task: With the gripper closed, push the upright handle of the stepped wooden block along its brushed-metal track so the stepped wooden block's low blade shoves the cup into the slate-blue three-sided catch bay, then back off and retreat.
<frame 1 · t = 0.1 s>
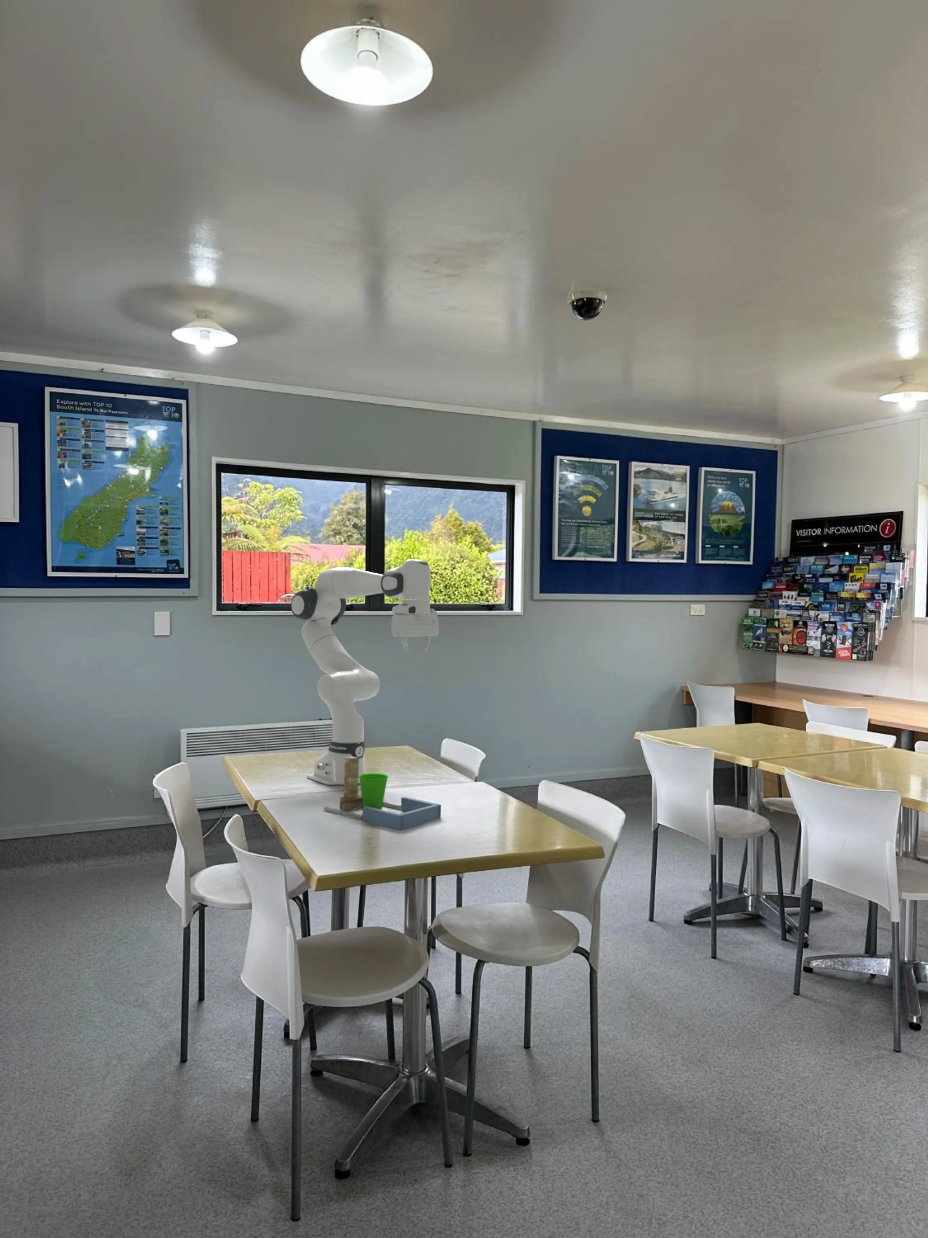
hand: (415, 650, 276), 48 cm above the table, fingers open, 8 cm apart
bay: (402, 819, 246), on the table
track: (363, 810, 255), on the table
cup: (372, 813, 253), on the table
stepped wooden block: (353, 782, 258), point 8 cm above the table, slide at 0.0 cm
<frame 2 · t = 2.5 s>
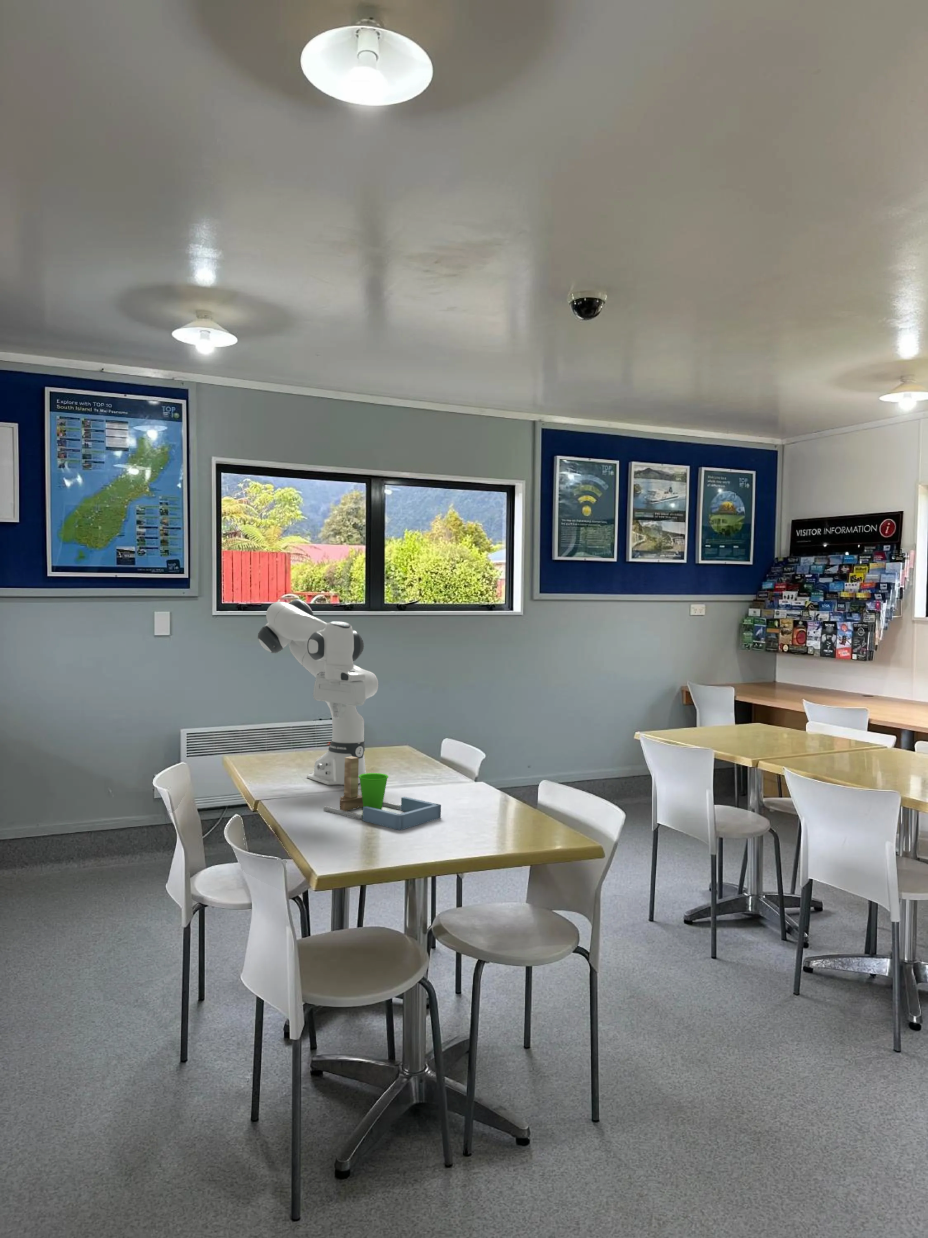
hand: (338, 717, 262), 27 cm above the table, fingers closed
nothing on the table moved.
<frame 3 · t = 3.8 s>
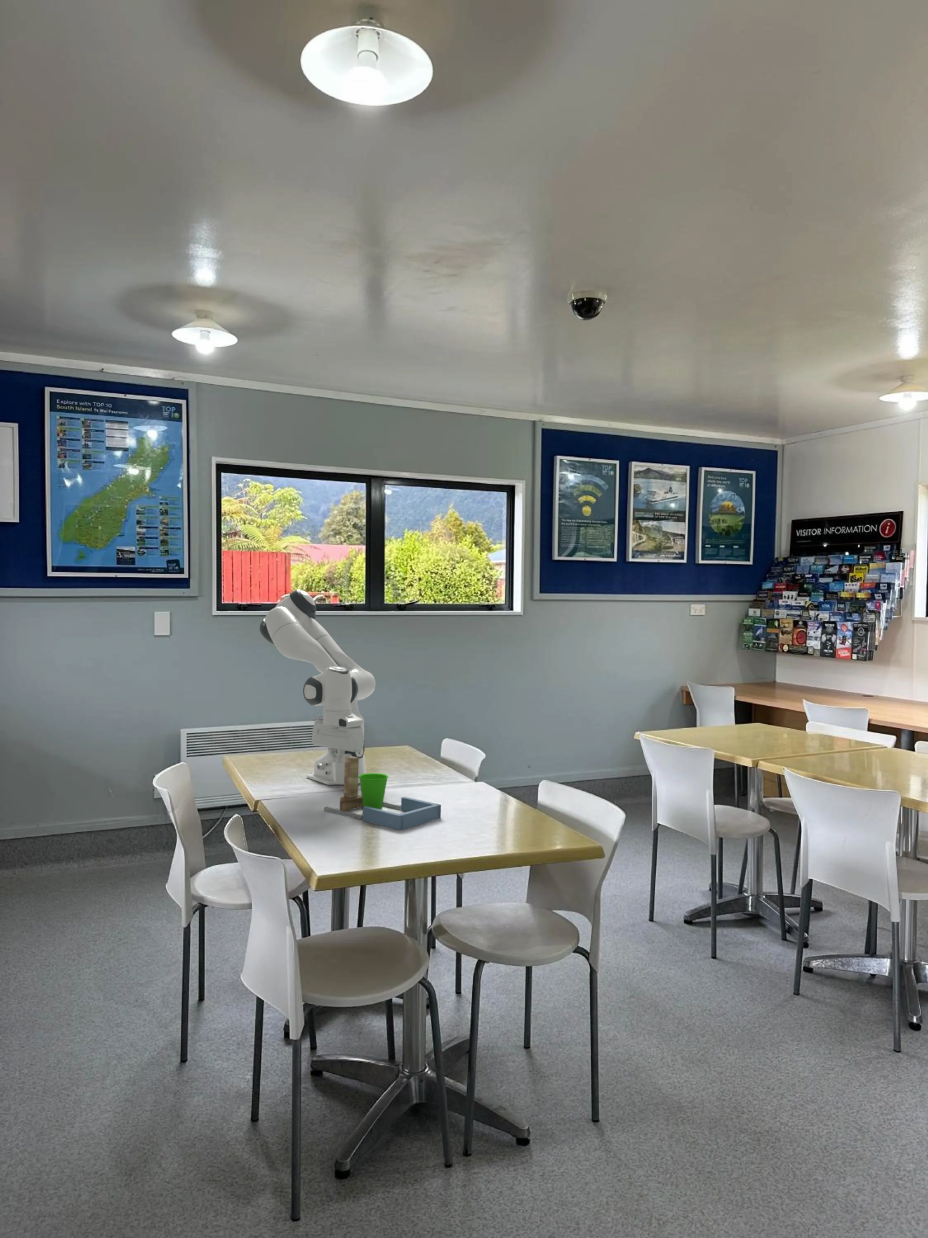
hand: (336, 762, 262), 13 cm above the table, fingers closed
nothing on the table moved.
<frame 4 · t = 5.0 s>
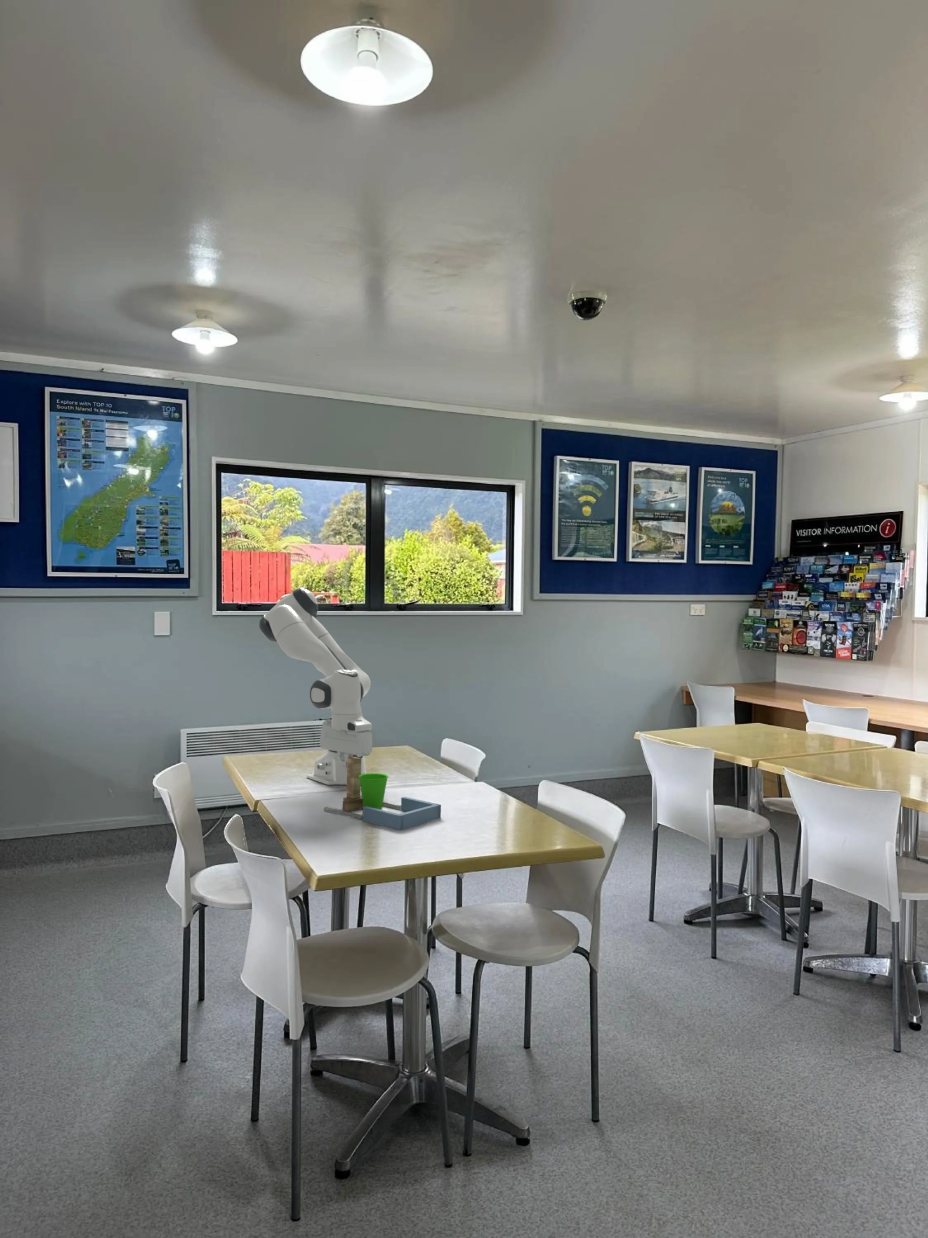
hand: (344, 766, 260), 12 cm above the table, fingers closed
stepped wooden block: (356, 782, 257), point 8 cm above the table, slide at 1.2 cm, touching gripper
everything else where it was.
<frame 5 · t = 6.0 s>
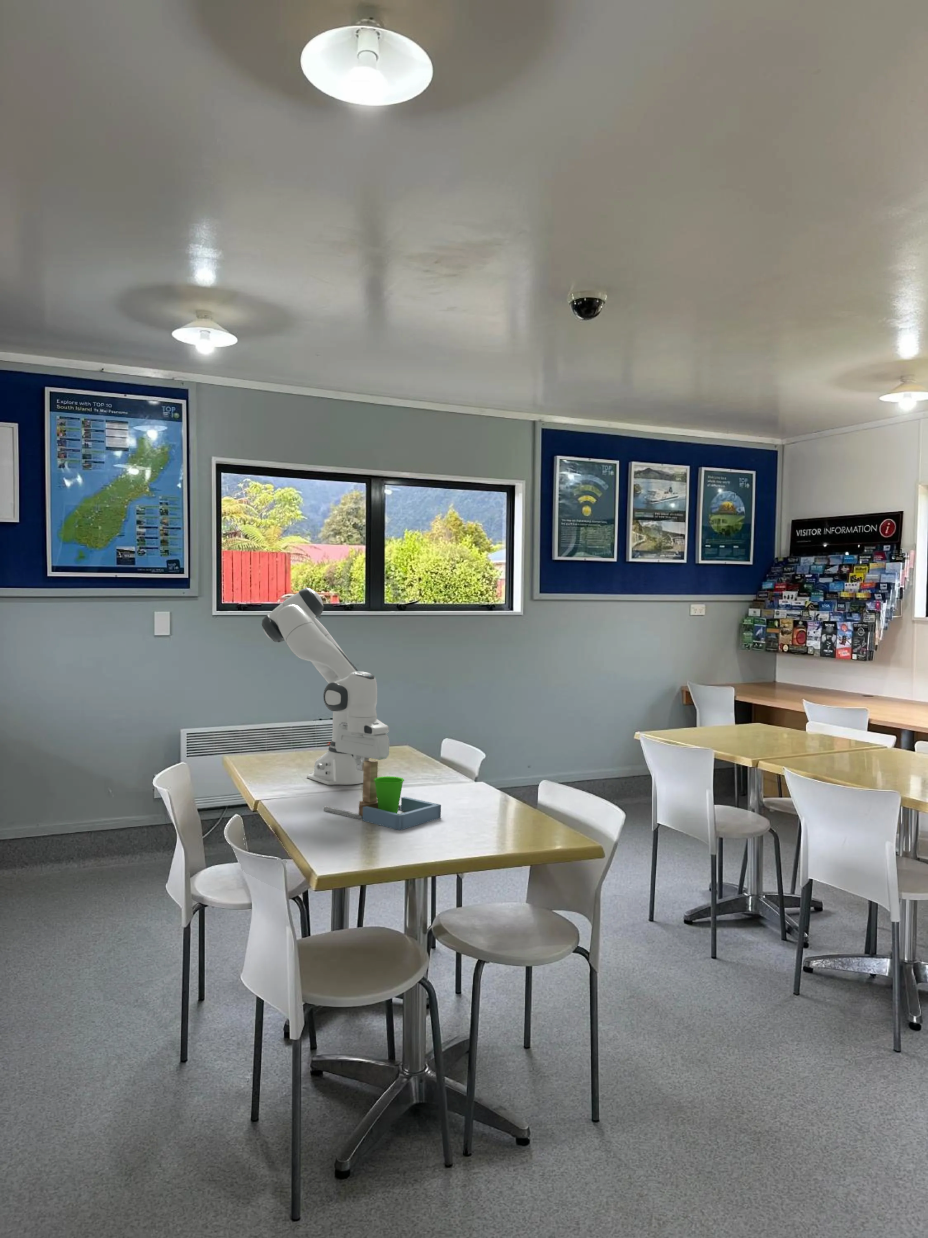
hand: (360, 770, 256), 12 cm above the table, fingers closed
cup: (388, 817, 249), on the table, touching stepped wooden block
stepped wooden block: (372, 786, 253), point 8 cm above the table, slide at 8.2 cm, touching cup, gripper
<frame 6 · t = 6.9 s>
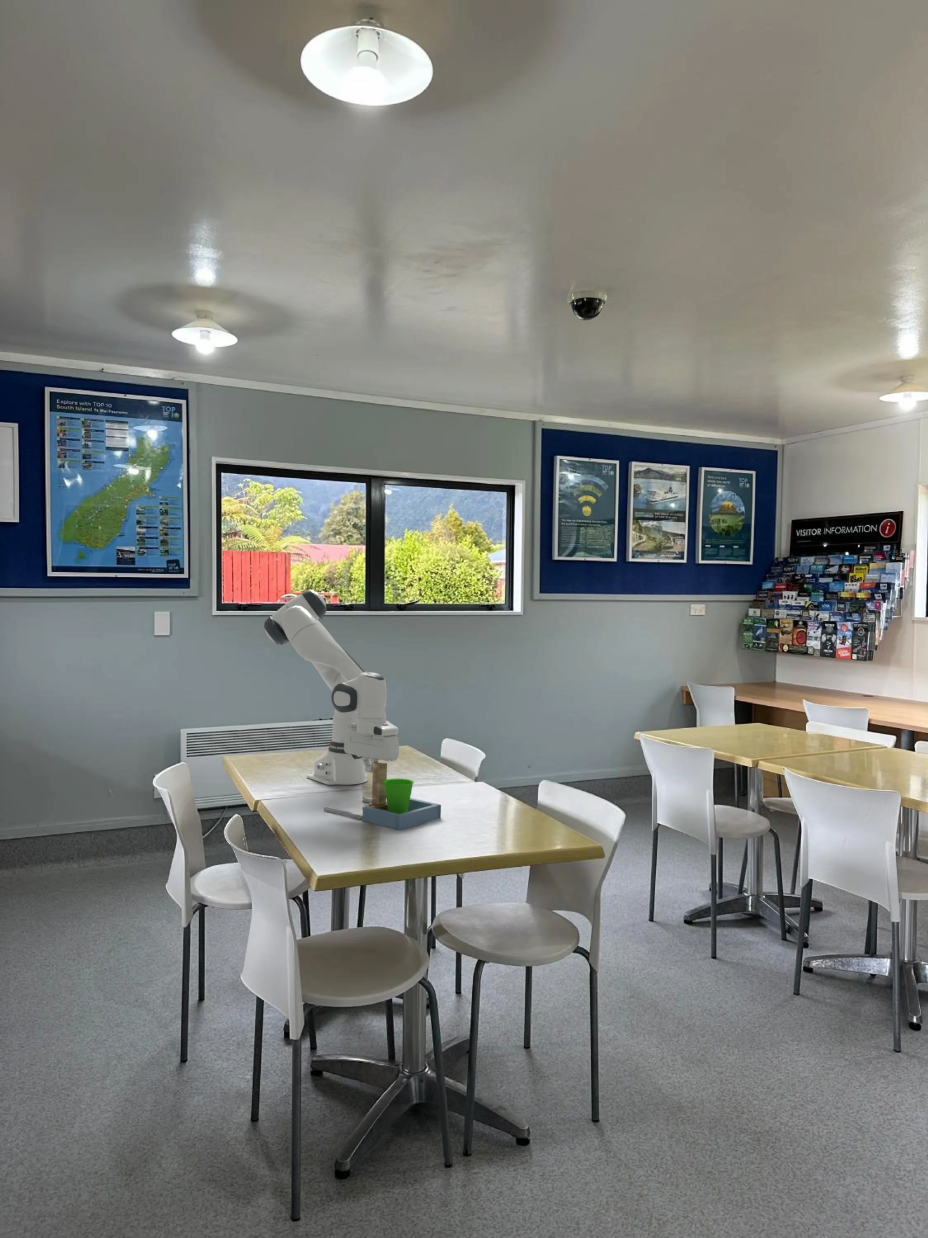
hand: (369, 772, 253), 12 cm above the table, fingers closed
cup: (397, 819, 246), on the table, touching stepped wooden block
stepped wooden block: (381, 788, 251), point 8 cm above the table, slide at 12.1 cm, touching cup, gripper
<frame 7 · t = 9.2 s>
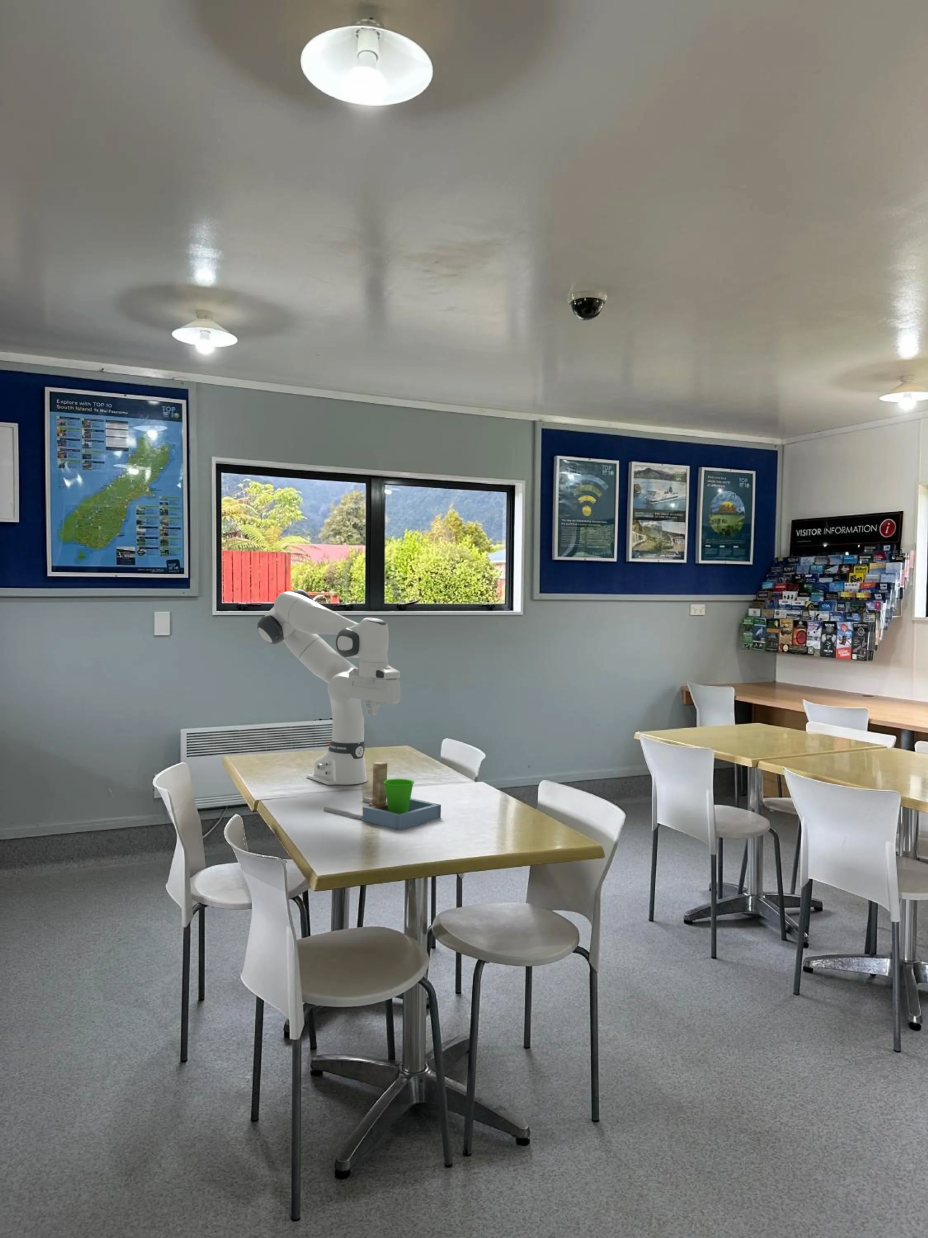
hand: (371, 715, 258), 29 cm above the table, fingers closed
cup: (398, 819, 246), on the table
stepped wooden block: (382, 788, 251), point 8 cm above the table, slide at 12.2 cm
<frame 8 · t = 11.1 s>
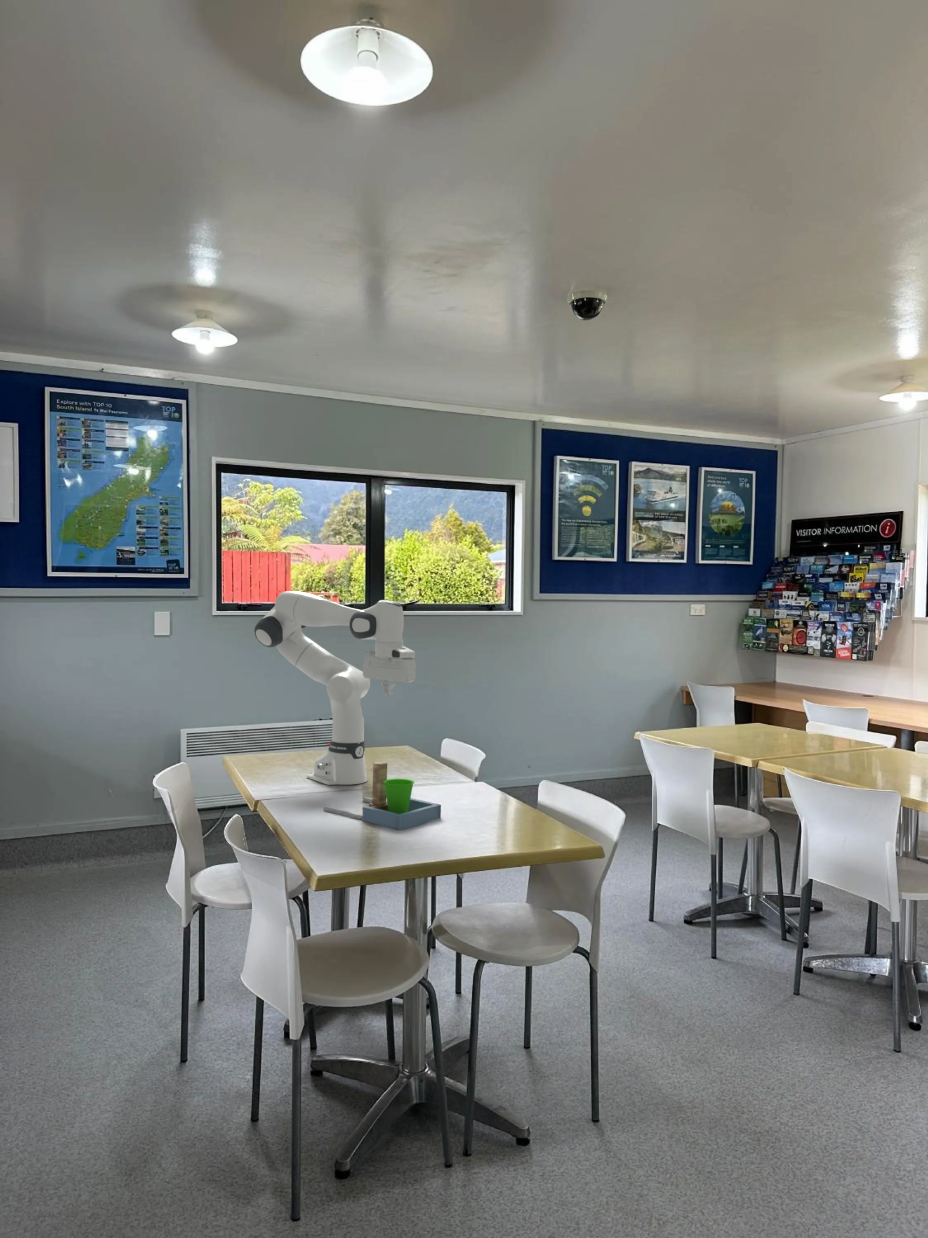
hand: (388, 694, 267), 34 cm above the table, fingers closed
nothing on the table moved.
at the end: cup inside the target area on the bay (2.1 cm from its centre), point 0.0 cm above the bay's base; cup tilted 0°; cup moved 10.7 cm from its start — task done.
